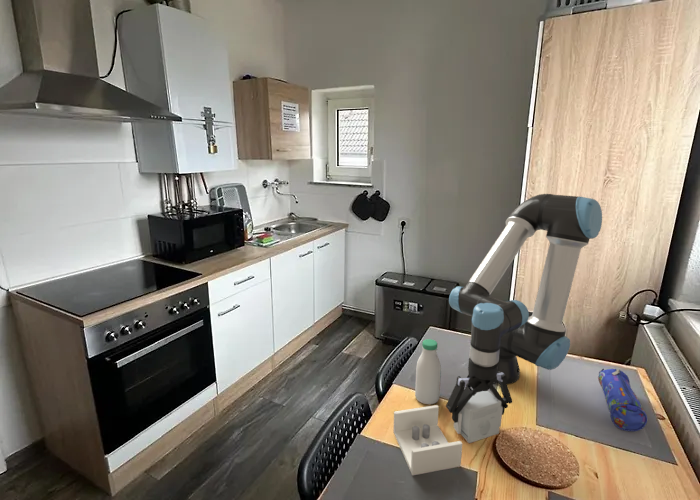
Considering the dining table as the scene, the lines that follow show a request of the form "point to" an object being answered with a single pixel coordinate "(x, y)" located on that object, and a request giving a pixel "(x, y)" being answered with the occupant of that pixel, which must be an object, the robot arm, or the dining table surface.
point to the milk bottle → (428, 374)
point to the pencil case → (622, 400)
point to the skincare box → (480, 417)
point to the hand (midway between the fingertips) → (477, 427)
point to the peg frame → (425, 441)
